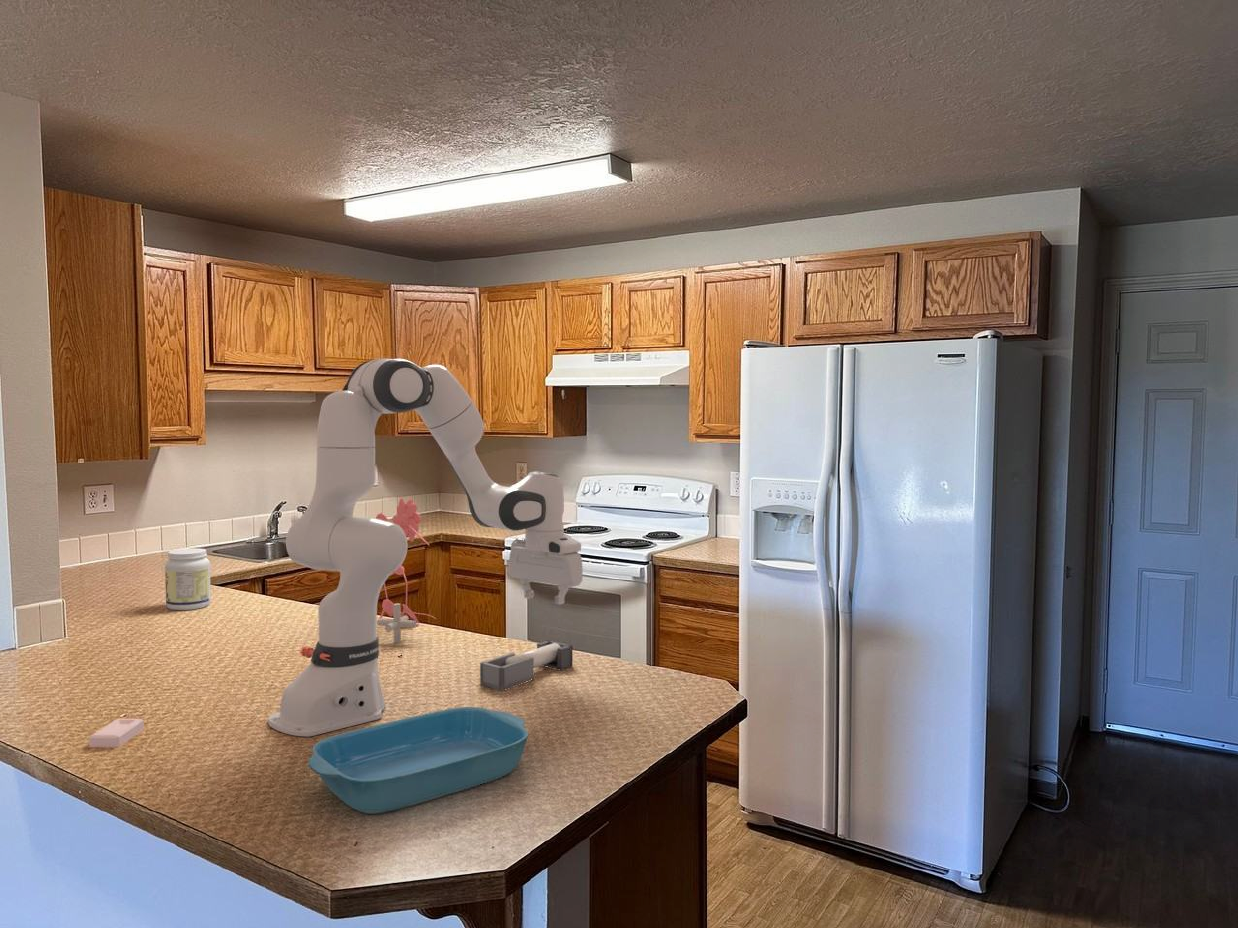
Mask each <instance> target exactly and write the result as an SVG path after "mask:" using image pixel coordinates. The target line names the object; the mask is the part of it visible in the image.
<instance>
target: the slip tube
mask: <svg viewBox="0 0 1238 928" xmlns="http://www.w3.org/2000/svg"><path fill="white" fill-rule="evenodd" d="M558 648H560V646H559V645H558V644H557V643H552V644H549V645H546V646H543V647H540V648H537V647H536V648H535V649H531V650H528V651H525V652H523V653H518V654H515V656H512V657H509V658H507V659H506V661H505V665H508V664H511V663H514V662H517V661H520V660H523V659H526V658H529V657H532V658H534V669H535V668H538V667H541V666H542V665H544V664H547V663H550V662H553V661H556V660H557V657H558Z"/></svg>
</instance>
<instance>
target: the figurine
mask: <svg viewBox="0 0 1238 928" xmlns="http://www.w3.org/2000/svg"><path fill="white" fill-rule="evenodd" d="M417 510H418V505H417V504H416V503H414V500H413V498H409V499H408V500H407V501H405V500H404V497H401V498H399V501H398V505H397V506H396V515H393V516H392V517H391V518H392V519H391V520H392V521H391V522H392V523H394V524H397V525H399V526H400V527H401V528H402V529H403V531H404V533H405V535H406V538H408V540H409V541H410V542H412V543H413V542H414V541H415V538H416V536H417V537H418V538H419V539H421V540H422V541H423V542H424V543H425V544H427V546H428V547H429V546H430V543H429V542H428V541H426V539H424V538H423V536H422V535H421V534H420V533H419V526H418V524H421V522H422V517H421V515H420V514H419V513H418V512H417ZM375 519H381V520H384V521H388V522H389V519H388V518H387V516H386V515H385V514H383V512H380V513H378V514H377V515H376V516H375ZM394 574H396V575H398V576H402V575H403V578H404V580H405V588H406V589H405V604H404V603H403V604H402V608H403V609H402V611H401V617H403V616H405V615H404V614H408V616H410V617H411V619H412V620H413V621H416V622H417V624H418V625H420V621H419V619H418V617H417V616H416V615H415V614H418V615H422V613H419V612H415V611H412V610H411V609H410V608H409V607H408V585H409V584H408V580H407V576H406V574H405V567H404V566H403V563H402V564H401V566H400V567H399V568H398V569H397V570H395V571H394V572H393V573H392V574H391V575H390V576H392V575H394ZM383 588H384V592H385V597H386V599H383V601H382V605H381V606H382V608H383V609H382V611H381V614H380V616H379V618H378V619H381V618H382V619H383V616H384V614H385V613H386V614H387V616H389V617H392V618H393V604H394V603H393V602H392V601H391V600H390V599H389V597H388V592H387V589H386V581H385V582H384V584H383ZM423 615H425V616H429V617H432V618H434V619H435V620H436V619H437V618H436V617H434V616H433V615H431V614H429V613H428V614H426V613H423ZM412 630H414V629H413V628H411V629H408V631H412Z"/></svg>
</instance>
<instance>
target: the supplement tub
mask: <svg viewBox="0 0 1238 928" xmlns="http://www.w3.org/2000/svg"><path fill="white" fill-rule="evenodd" d="M207 556H208V554H207V549H205V548H197V547H196V548H195V547H193V548H191V547H190V548H180V549H179V548H178V549H174V550H170V551H168V552H167V559H168V560H167V561H166V563H165V564H164V565H165V566H164V573H165V575H164V577H165V579H164V580H165V605H166V607H167V608H168V609H169V610H174V611H191V610H197V609H202V608H205V607H207V606H209V605H211V604H210V603H211V602H212V601H211V600H212V598H211V596H212V595H211V562H210V560H209V559H208V558H207Z"/></svg>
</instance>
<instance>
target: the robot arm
mask: <svg viewBox="0 0 1238 928" xmlns="http://www.w3.org/2000/svg"><path fill="white" fill-rule="evenodd" d="M469 395H470V394H468V392H467V391H466V389H465V388H464V387H463V385H462V384H461V383H460V382H459V380H458V379H457V378H456V377H455V376H454V375H453V374H452V373H451V372H450V371H449V370H448V369H447V368H446V367H445V366H443V365H441V364H430V365H427V366H423V367H421V366H419V365H417V364H416V363H414V362H412V361H409V360H407V359H404V358H387V357H386V358H385V357H384V358H383V357H382V358H377V359H372V360H366V361H364V362H362V363H360V364H359V365H357V366H356V367H355V368H354V369H353V370H352V372H351V373H350V375H349V377H348V379H347V381H346V383H345V385H344V387H343V389H342V390H338V391H335V392H332V393H329V394H328V395H326V397H325V398H324V399H323V401H322V403H321V405H320V406H321V407H320V411H319V417H318V423H317V434H316V474H315V476H316V477H315V485H314V486H315V487H314V490H313V495H312V497H311V501H310V503H309V505H308V506H307V508H306V510H305V511H304V512H303V514H302V515H301V516H300V517H299V518H298V519H297V520H295V521H294V522H293V523H292V524H291V526H290V528H289V529H288V532H287V534H286V539H285V546H286V547H285V548H286V552H287V555H288V556H289V558H290V560H291V561H293V562H294V564H298V565H301V566H303V567H306V568H310V569H312V570H315V571H316V570H319V571H328V572H339V573H340V574H339V583H338V586H337V588H336V589H335V590H333V591H331V592H329V593H328V594H327V595H326V596H324V597H323V599H322V600H321V601H320V602H319V605H318V641H317V642H316V644H315V647H314V648H313V647H309V646H307V645H305V646H302V647H301V649H300V652H299V654H300V655H301V656H302V657H305V658H307V659H310V663H309V664H308V665H307V666H306V668H304V669H303V670H302V672H300V673H299V675H297V676H296V677H295V679H293V681H291V682H290V683H289V684H288V685H287V686H286V687H285V688H284V690H283V693H282V696H281V701H280V702H281V703H280V710H279V711H277V712H275V713H272V714H271V715H269V716H268V718H267V719H268V720H267V724H268V725H269V726H270V727H271V729H274V730H276V731H278V732H280V733H283V734H286V735H291V736H296V737H314V736H319V735H322V734H325V733H330V732H333V731H337V730H342V729H345V728H348V727H349V728H350V727H353V726H356V725H361V724H365V723H369V722H371V721H373V722H374V721H376V720H379V719H381V718H382V717H383V716H382V712H383V711H384V710H385V709H386V707H387V705H386V702H385V699H384V695H383V690H382V686H381V681H380V675H379V666H378V665H379V664H378V663H379V662H378V659H379V656H380V644H379V637H378V636H377V621H378V619H377V617H378V615H377V613H378V602H379V597H380V593H381V590H382V588H383V587H384V582H385V583H386V581H387V580H388V578H389V577H390V576H392V575H393V574H392V573H394V572H395V570H397V569H398V568H399V567H400V566H401V564H402V565H403V563H404V561H405V559H406V558H407V554H408V547H409V545H408V539H407V538H408V537H407V538H406V535H405V533H404V531H403V529H402V528H401V527H400V526H399V525H397V524H394V523H393V522H392V521H391V522H390V521H389V520H388V521H384V520H381V519H376V517H374V518H371V517H357V516H354V510H355V506H356V504H357V502H358V500H359V499H360V498H362V497H363V496H365V495H367V494H368V493H370V492H371V491H372V489H373V488H374V486H375V483H376V435H375V431H376V427H377V424H378V421H379V418H380V417H381V416H382V415H383V414H385V415H386V414H387V415H388V414H401V413H402V414H403V413H407V412H411V411H414V412H415V413H417V414H418V416H420V418H421V420H422V421H423V423H424V424H425V426H426V427H427V429H428V431H429V433H430V434H431V435H432V437H433V438H434V440H435V441H436V443H437V444H438V446H439V447H440V448H441V450H442V452H443V454H444V456H445V458H446V460H447V462H448V464H449V466H450V467H451V469H452V471H453V473H454V474H455V476H456V478H457V480H458V481H459V483H460V485H461V486H462V488H463V491H464V492H465V494H466V497H467V502H468V508H469V510H470V514H471V516H472V519H473V520H474V521H475V522H476V523H477V524H478V525H480V526H481V527H484V528H496V529H500V530H505V531H511V532H517V531H521V530H524V531H525V533H524V539H523V538H515V539H514V540H513V541H512V542H511V544H510V552H509V558H508V568H507V572H508V575H509V576H510V577H511V578H514V579H515V578H516V579H520V585H521V587H522V590H523V591H524V592H523V594H524V596H523V597H524V598H525V599H528V600H530V599H533V598H534V597H535V590H533V589H532V587H531V585H530V583H532V582H539V583H544V584H551V585H557V589H558V595H555V596H554V604H556V605H564V604H565V597H566V594H567V593H568V591H569V588H572V587H576V586H579V585H580V584H581V583H582V581H583V559H582V555H581V554H580V553H579V552H581V550H582V544H581V542H580V541H579V540H577V539H575V538H573V537H571V536H569V535H568V534H566V533H565V532H564V529H565V527H564V523H563V515H564V510H565V497H564V496H565V495H564V494H565V493H564V486H563V482H562V479H561V477H560V476H558V475H556V474H555V473H549V472H544V471H537V470H535V471H530V472H528V474H527V475H526V477H524V478H523V479H521V480H520V481H518V482H517V483H514V484H512V485H510V486H503V485H500V484H498V483H497V482H494V481H493V480H492V478H491V477H489V475H488V473H487V471H486V469H485V467H484V465H483V463H482V462H481V460H480V458H479V456H478V455H477V452H476V446H477V444H479V442H480V441H481V439H482V436H483V435H484V430H485V429H484V428H485V424H484V421H483V419H482V416H481V413H480V411H479V410H478V407H477V406H476V404H475V403H474V401H473V399H472V398H471V397H470V396H469ZM391 574H392V575H391Z"/></svg>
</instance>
